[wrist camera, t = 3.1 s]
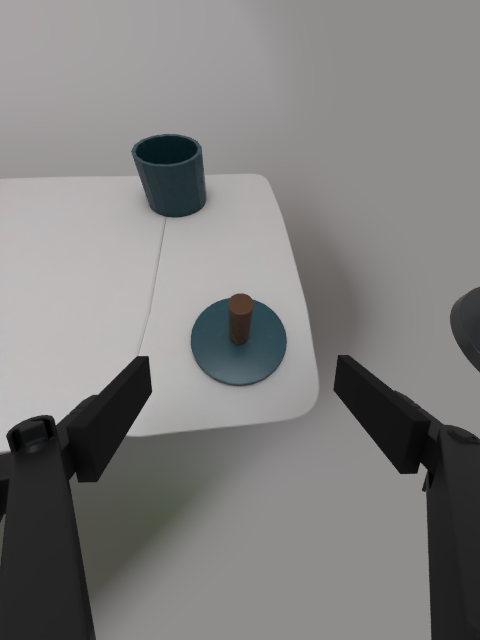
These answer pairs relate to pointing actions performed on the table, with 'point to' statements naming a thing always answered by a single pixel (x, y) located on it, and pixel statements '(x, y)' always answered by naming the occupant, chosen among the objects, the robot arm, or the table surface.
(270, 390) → the table surface
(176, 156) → the pot
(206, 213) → the table surface
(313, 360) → the table surface
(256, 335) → the lid
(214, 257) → the table surface
